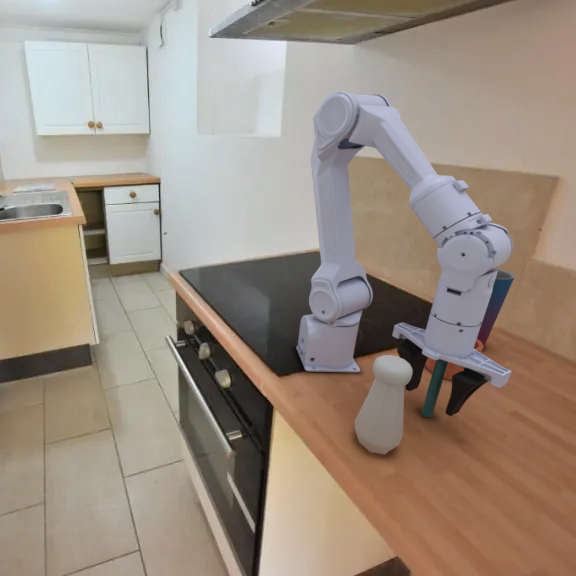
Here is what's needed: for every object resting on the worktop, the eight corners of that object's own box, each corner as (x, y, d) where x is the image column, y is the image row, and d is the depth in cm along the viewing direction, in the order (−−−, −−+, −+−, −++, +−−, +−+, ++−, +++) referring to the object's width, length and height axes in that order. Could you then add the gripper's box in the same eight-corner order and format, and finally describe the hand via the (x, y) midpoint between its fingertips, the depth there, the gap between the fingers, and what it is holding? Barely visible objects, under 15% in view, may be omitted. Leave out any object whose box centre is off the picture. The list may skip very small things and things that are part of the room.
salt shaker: (375, 465, 48) (397, 379, 43) (342, 434, 52) (357, 354, 48) (408, 451, 50) (432, 368, 45) (373, 422, 55) (391, 344, 50)
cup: (476, 335, 78) (498, 266, 72) (497, 353, 71) (524, 279, 66) (441, 334, 78) (461, 265, 73) (459, 351, 72) (482, 278, 66)
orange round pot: (438, 380, 64) (448, 350, 61) (417, 357, 70) (424, 328, 68) (482, 381, 64) (493, 351, 61) (456, 358, 70) (465, 329, 68)
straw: (424, 417, 56) (440, 362, 52) (419, 411, 57) (434, 357, 53) (434, 417, 56) (450, 362, 52) (428, 411, 57) (444, 357, 53)
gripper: (386, 302, 54) (369, 381, 59) (501, 350, 42) (467, 443, 48) (417, 293, 57) (399, 368, 63) (532, 335, 45) (498, 424, 51)
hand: (430, 400), depth 55 cm, fingers open, 5 cm apart
